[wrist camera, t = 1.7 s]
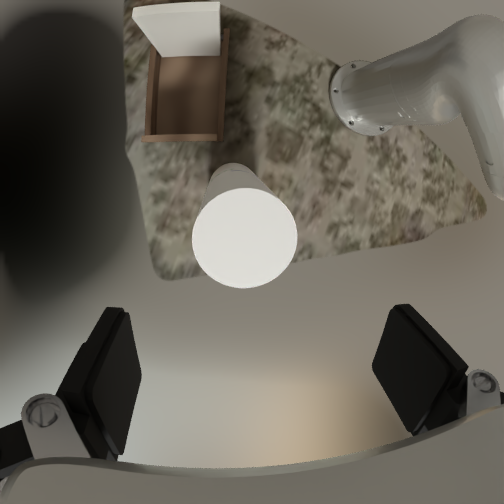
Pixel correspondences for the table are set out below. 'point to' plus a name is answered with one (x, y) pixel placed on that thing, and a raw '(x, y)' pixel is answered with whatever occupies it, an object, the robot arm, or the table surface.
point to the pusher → (182, 28)
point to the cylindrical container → (242, 229)
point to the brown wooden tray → (186, 96)
